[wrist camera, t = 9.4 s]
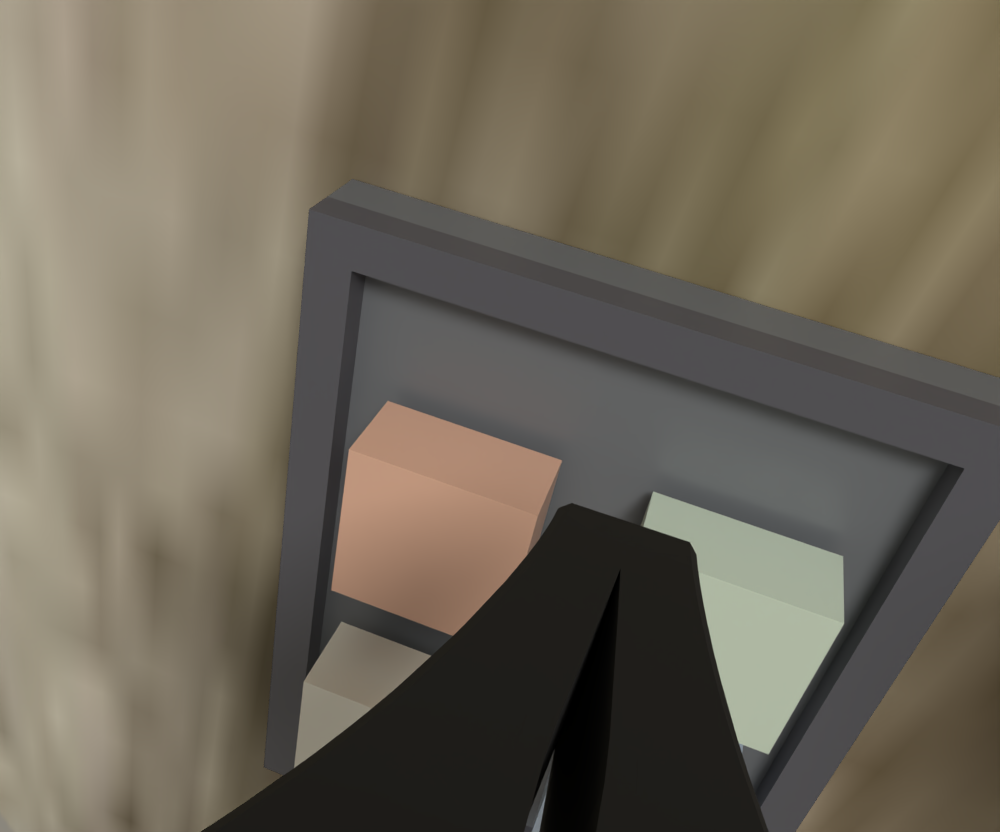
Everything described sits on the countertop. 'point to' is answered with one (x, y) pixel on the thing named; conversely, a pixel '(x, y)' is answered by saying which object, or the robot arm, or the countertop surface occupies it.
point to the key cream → (349, 684)
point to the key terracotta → (436, 516)
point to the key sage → (759, 611)
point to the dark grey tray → (634, 438)
